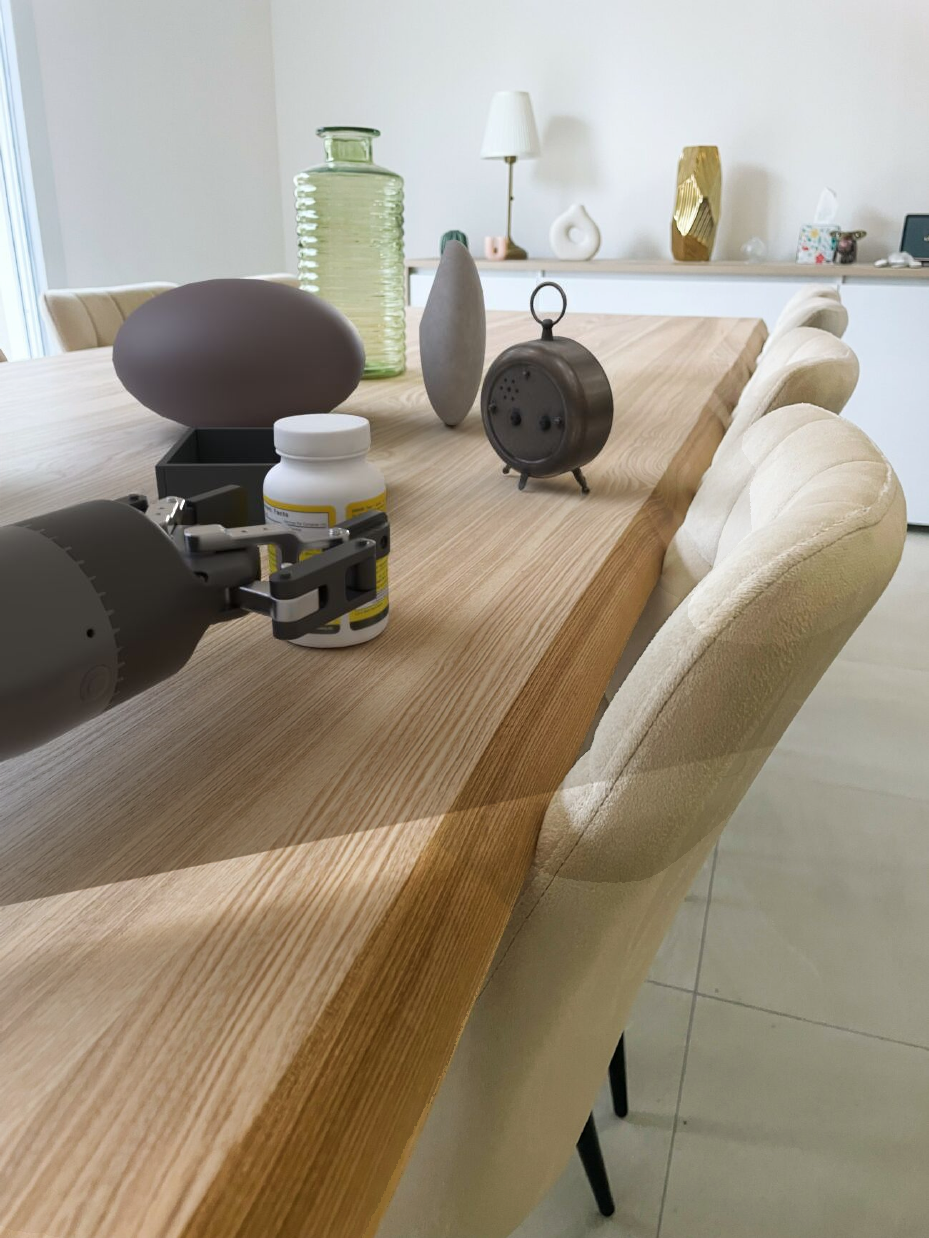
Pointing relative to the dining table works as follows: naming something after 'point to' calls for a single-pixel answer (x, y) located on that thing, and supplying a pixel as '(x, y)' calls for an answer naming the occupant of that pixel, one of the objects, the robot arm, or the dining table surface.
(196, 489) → the bin
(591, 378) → the alarm clock
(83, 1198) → the dining table surface
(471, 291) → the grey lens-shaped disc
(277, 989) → the dining table surface
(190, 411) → the smooth stone
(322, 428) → the pill bottle
